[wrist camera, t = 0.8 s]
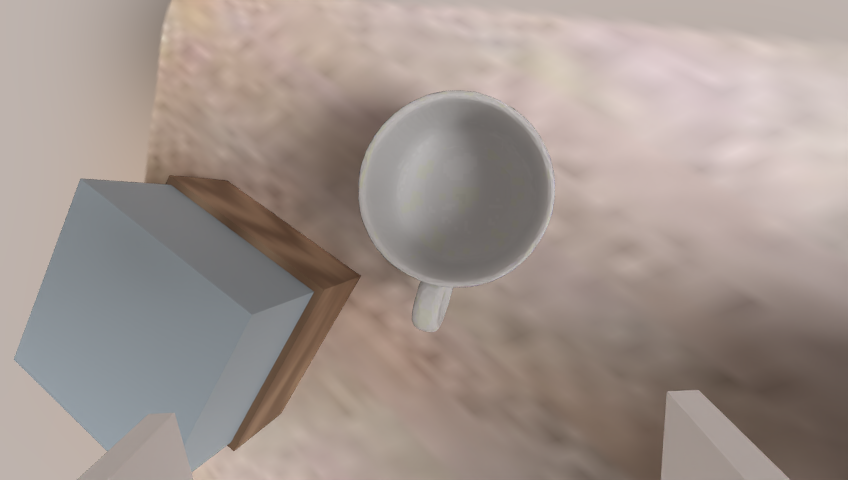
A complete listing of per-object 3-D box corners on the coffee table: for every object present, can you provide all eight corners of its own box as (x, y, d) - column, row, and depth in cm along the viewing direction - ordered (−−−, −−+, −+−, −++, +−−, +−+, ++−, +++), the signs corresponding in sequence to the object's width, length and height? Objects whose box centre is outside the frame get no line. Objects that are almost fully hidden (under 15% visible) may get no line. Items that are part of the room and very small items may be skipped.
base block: (362, 275, 32) (324, 289, 26) (283, 411, 35) (233, 451, 29) (230, 181, 35) (169, 175, 29) (168, 314, 38) (102, 333, 32)
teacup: (434, 100, 29) (398, 60, 21) (576, 153, 26) (593, 130, 19) (368, 268, 31) (313, 288, 24) (492, 331, 29) (477, 375, 21)
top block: (314, 291, 26) (252, 314, 20) (230, 442, 29) (156, 499, 23) (171, 184, 29) (80, 178, 23) (107, 332, 32) (13, 359, 26)
